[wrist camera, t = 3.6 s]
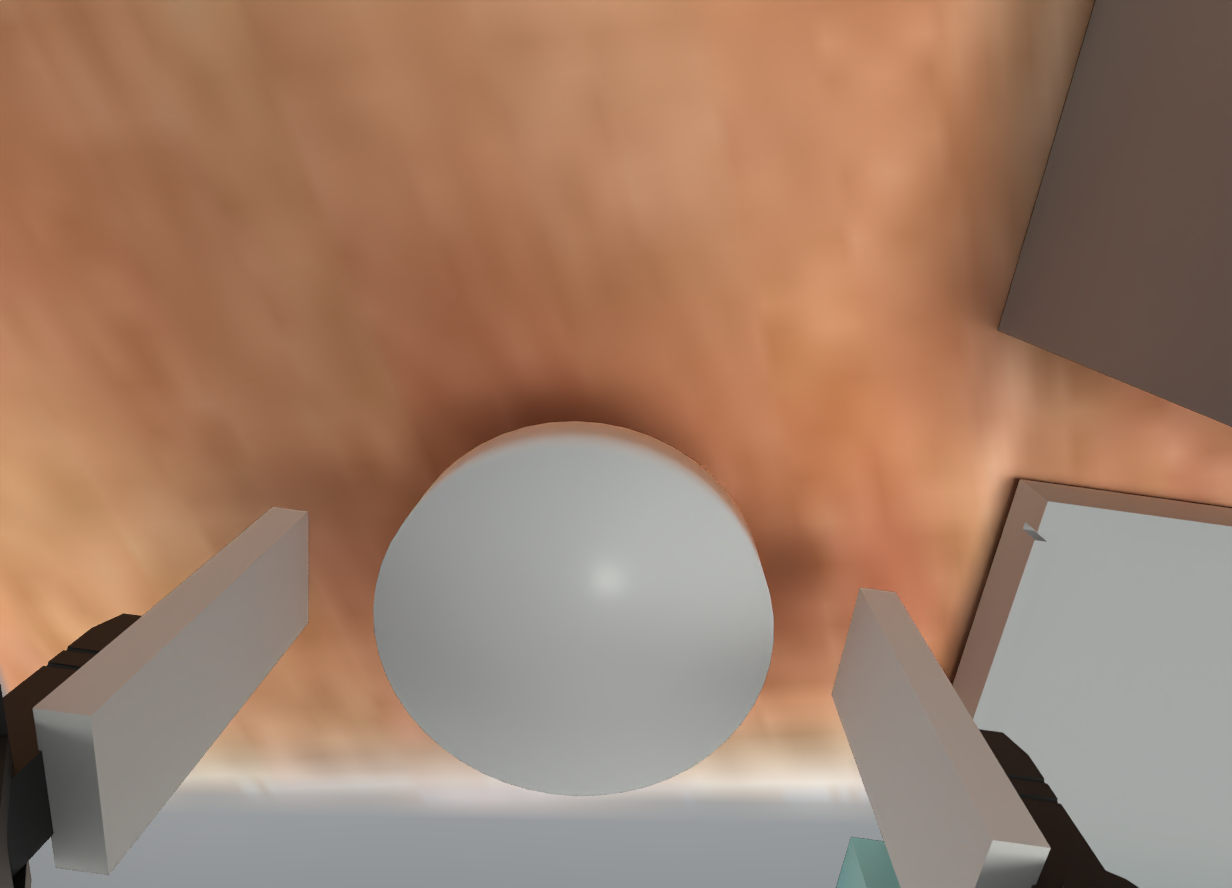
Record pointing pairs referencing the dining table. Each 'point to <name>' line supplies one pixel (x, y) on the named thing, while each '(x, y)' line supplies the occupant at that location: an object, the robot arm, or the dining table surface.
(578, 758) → the disc
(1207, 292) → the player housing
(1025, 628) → the tray
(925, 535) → the dining table surface
